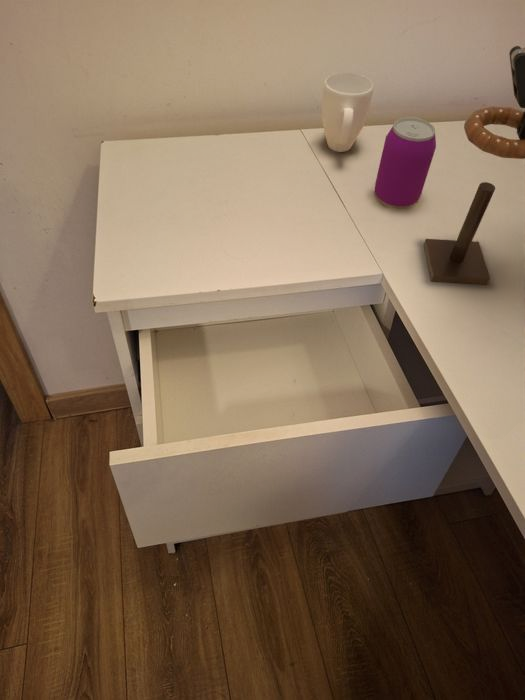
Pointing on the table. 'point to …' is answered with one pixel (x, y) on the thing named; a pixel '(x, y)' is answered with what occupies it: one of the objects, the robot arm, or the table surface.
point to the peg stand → (461, 247)
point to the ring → (489, 140)
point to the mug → (345, 108)
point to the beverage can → (405, 162)
